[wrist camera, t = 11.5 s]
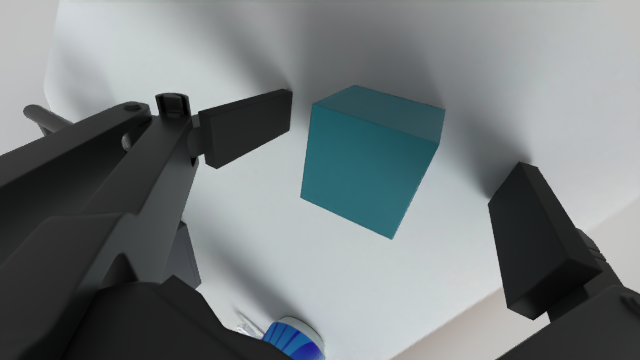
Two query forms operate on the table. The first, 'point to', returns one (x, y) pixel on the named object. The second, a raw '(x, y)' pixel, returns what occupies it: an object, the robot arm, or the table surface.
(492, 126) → the table surface
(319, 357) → the beer can
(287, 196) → the table surface
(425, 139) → the teal wooden cube
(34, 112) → the sliding drawer
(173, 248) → the drawer cabinet
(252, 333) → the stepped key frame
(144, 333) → the robot arm
